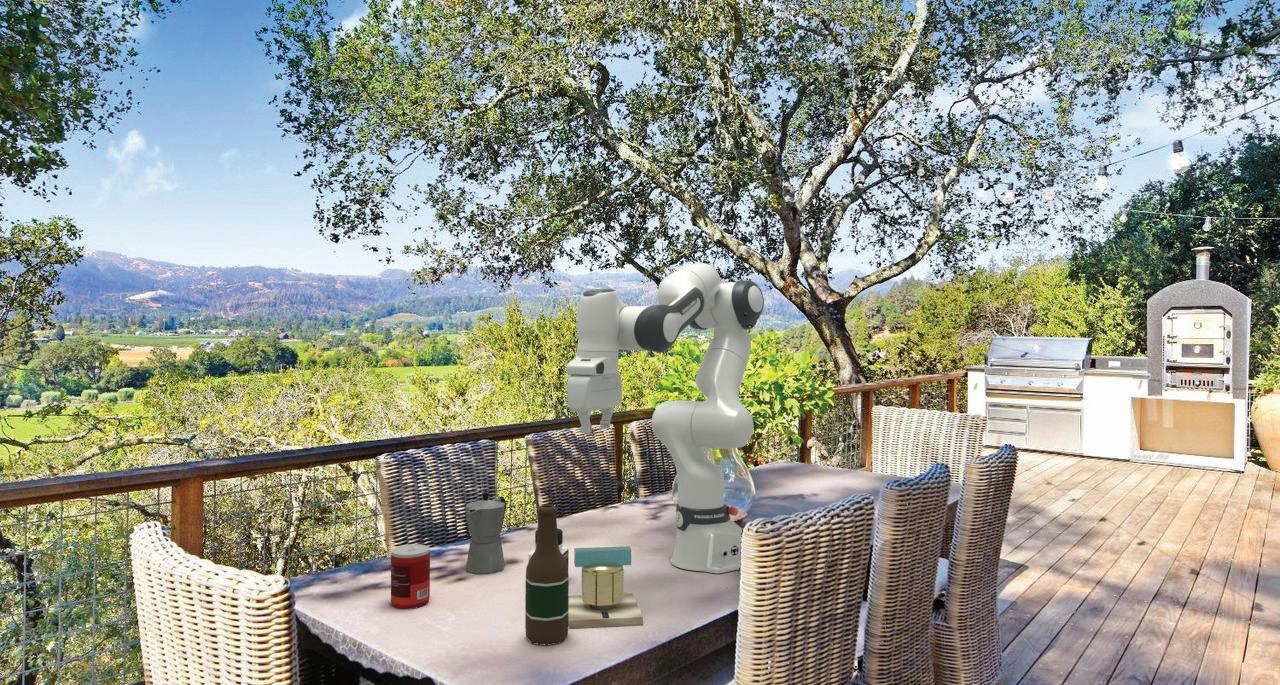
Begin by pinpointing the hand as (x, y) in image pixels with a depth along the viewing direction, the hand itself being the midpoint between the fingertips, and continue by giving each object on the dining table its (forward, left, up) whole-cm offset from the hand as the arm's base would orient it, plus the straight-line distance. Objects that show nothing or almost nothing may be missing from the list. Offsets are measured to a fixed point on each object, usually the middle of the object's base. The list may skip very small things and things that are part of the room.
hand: (596, 430), depth 167 cm
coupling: (+3, +11, -32) cm, 34 cm away
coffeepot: (+17, -28, -35) cm, 48 cm away
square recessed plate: (+3, +11, -35) cm, 37 cm away
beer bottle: (+16, +19, -35) cm, 43 cm away
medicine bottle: (+7, -12, -35) cm, 38 cm away
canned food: (+37, -10, -35) cm, 52 cm away
